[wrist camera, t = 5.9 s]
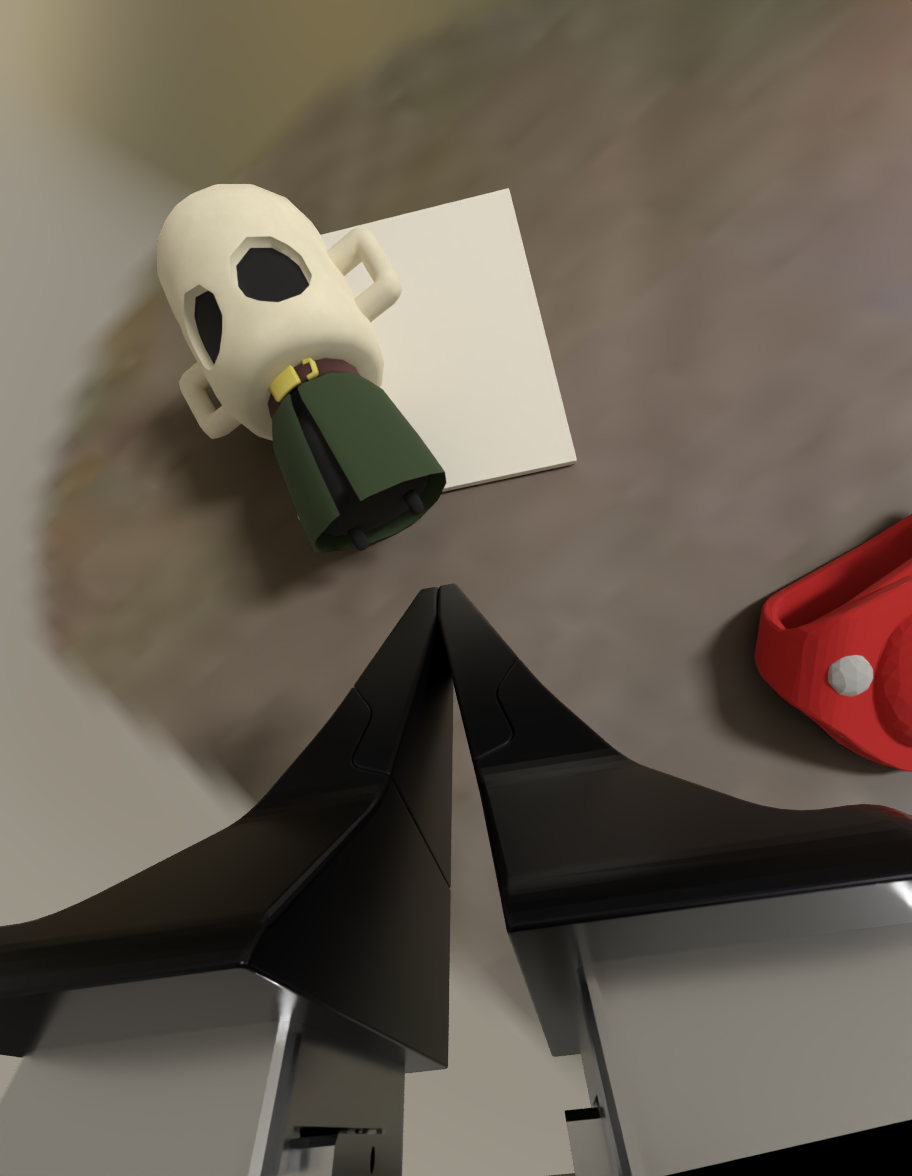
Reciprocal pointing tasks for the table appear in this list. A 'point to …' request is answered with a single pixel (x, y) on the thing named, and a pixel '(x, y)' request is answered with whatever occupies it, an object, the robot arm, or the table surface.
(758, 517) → the table surface
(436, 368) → the oatmeal mat
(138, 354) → the table surface
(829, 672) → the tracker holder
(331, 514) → the character mug
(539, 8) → the table surface
